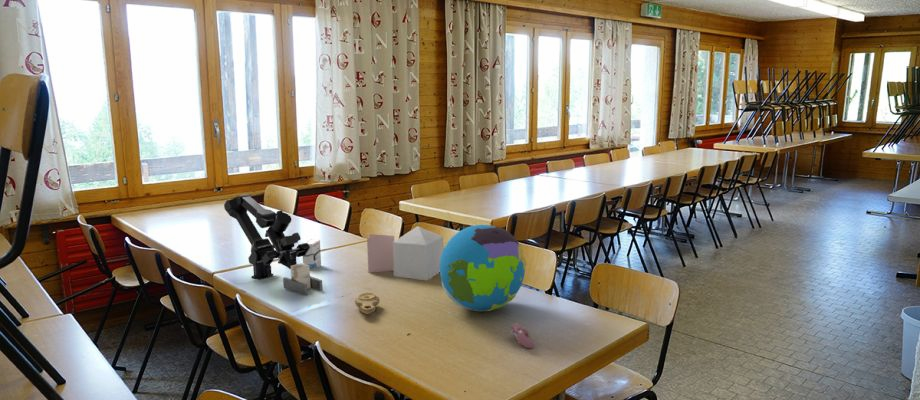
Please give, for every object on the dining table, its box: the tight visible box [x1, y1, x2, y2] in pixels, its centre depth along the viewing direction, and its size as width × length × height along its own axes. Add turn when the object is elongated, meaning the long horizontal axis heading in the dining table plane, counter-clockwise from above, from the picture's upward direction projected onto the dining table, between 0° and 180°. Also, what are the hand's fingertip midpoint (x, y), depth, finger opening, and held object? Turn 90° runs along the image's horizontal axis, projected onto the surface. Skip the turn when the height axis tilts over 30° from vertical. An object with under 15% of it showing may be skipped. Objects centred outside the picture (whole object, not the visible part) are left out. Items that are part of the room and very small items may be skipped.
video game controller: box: [510, 322, 535, 349], centre depth 187 cm, size 10×5×7 cm, turn 5°
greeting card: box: [366, 233, 395, 273], centre depth 260 cm, size 11×7×15 cm, turn 71°
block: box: [290, 262, 312, 290], centre depth 235 cm, size 5×5×9 cm
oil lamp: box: [354, 292, 380, 315], centre depth 214 cm, size 11×14×5 cm
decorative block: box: [393, 226, 444, 281], centre depth 256 cm, size 16×16×20 cm
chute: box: [282, 275, 323, 296], centre depth 235 cm, size 14×8×5 cm, turn 49°
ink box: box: [301, 238, 322, 269], centre depth 265 cm, size 8×5×12 cm, turn 168°
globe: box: [439, 224, 527, 312], centre depth 212 cm, size 30×30×30 cm
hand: (296, 271), depth 236 cm, fingers closed, pressing on block
